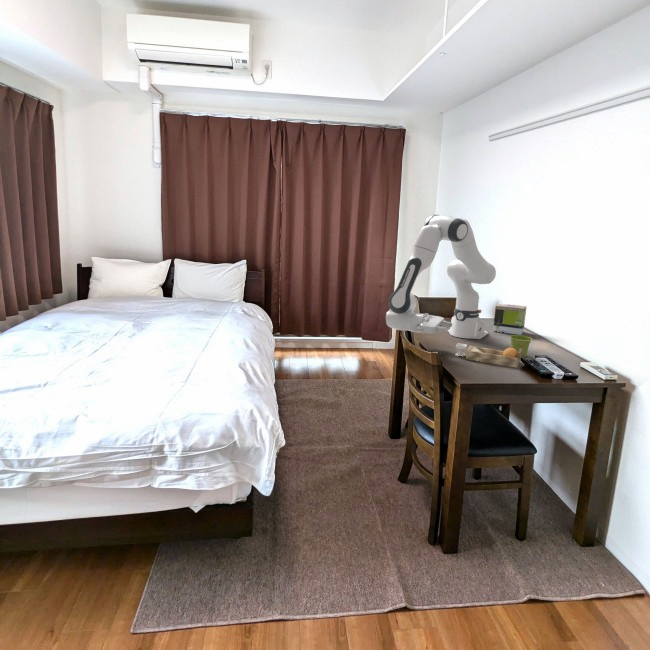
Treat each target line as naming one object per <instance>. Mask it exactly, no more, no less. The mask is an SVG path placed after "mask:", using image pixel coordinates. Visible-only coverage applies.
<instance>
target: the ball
mask: <svg viewBox="0 0 650 650" xmlns="http://www.w3.org/2000/svg"><path fill="white" fill-rule="evenodd" d="M503 351H504V353H503V356H507V357H513V358H517V357H518V352H517V351H516V350H515V349H514V348H511V347H507V348H506V349H504V350H503Z"/></svg>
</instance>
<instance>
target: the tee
mask: <svg viewBox="0 0 650 650" xmlns="http://www.w3.org/2000/svg"><path fill="white" fill-rule="evenodd" d="M467 347H468V344H466V343H459V342H458V343H456V345H455V349H458V350H457V352H456V353H455V357H458V356H462V357H461V358H464V357H463V356H465V357H466V354H465V353H464V351H465V350H467V349H468V348H467Z"/></svg>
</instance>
